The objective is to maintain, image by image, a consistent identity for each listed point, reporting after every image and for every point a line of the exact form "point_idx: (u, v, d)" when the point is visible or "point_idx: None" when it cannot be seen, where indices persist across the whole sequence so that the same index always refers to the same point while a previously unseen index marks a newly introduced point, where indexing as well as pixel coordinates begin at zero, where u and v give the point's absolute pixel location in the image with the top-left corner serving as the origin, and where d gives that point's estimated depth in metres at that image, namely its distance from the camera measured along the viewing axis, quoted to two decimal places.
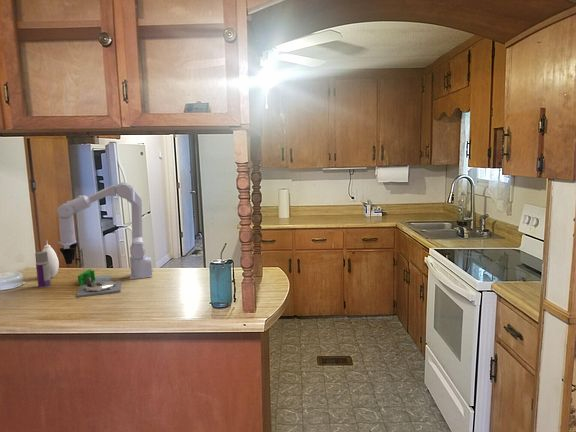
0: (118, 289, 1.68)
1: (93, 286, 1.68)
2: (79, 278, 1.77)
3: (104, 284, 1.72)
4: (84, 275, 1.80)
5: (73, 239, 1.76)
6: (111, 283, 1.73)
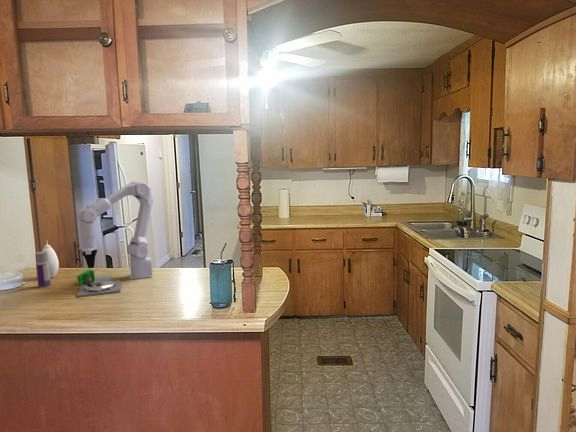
0: (118, 289, 1.68)
1: (93, 286, 1.68)
2: (79, 278, 1.77)
3: (104, 284, 1.72)
4: (84, 275, 1.80)
5: (94, 244, 1.72)
6: (111, 283, 1.73)
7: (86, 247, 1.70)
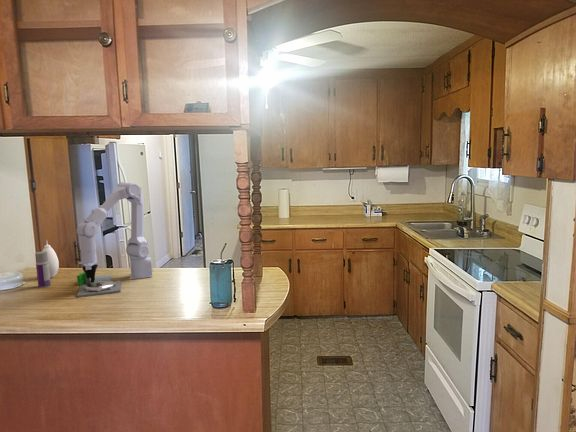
0: (118, 289, 1.68)
1: (93, 286, 1.68)
2: (78, 278, 1.77)
3: (104, 284, 1.72)
4: (83, 275, 1.80)
5: (94, 259, 1.69)
6: (111, 283, 1.73)
7: (86, 262, 1.67)
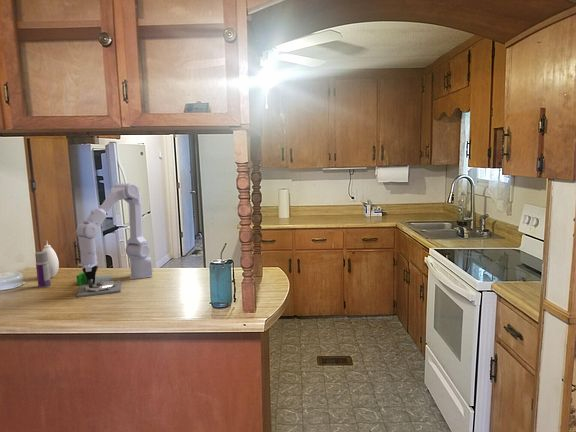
0: (118, 289, 1.68)
1: (98, 286, 1.68)
2: (78, 278, 1.77)
3: (103, 283, 1.73)
4: (83, 275, 1.80)
5: (95, 260, 1.67)
6: (109, 282, 1.75)
7: (86, 264, 1.65)
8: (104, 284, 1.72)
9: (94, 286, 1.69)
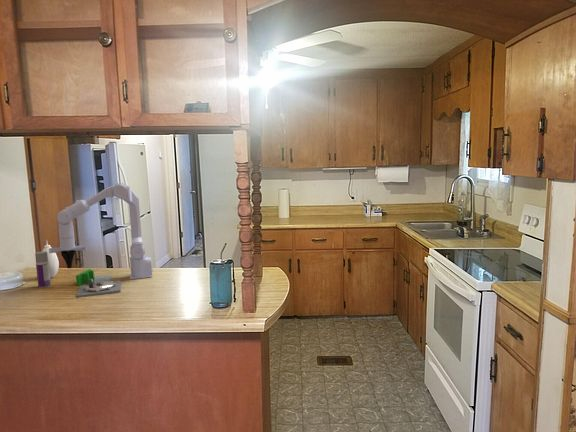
0: (118, 289, 1.68)
1: (98, 286, 1.68)
2: (77, 278, 1.77)
3: (103, 283, 1.73)
4: (82, 275, 1.80)
5: (62, 246, 1.75)
6: (108, 282, 1.75)
7: None
8: (104, 284, 1.72)
9: (94, 286, 1.69)
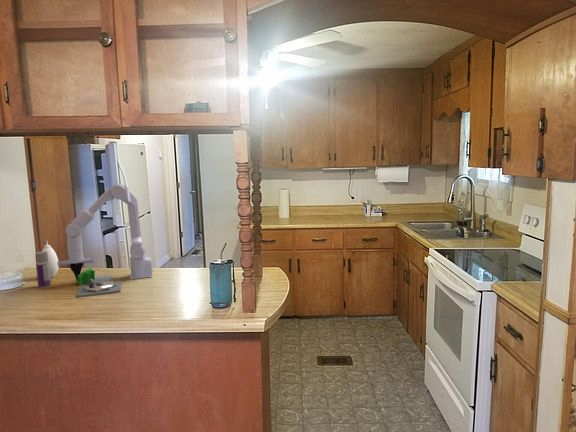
0: (118, 289, 1.68)
1: (98, 286, 1.68)
2: (79, 278, 1.77)
3: (103, 283, 1.73)
4: (84, 275, 1.80)
5: (71, 259, 1.77)
6: (108, 282, 1.75)
7: None
8: (104, 284, 1.72)
9: (94, 286, 1.69)
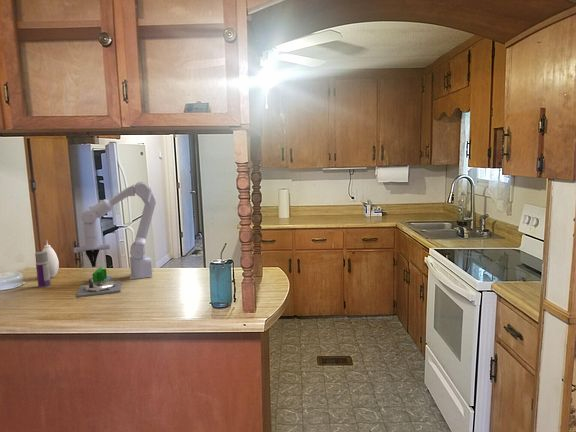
0: (118, 289, 1.68)
1: (98, 286, 1.68)
2: (94, 276, 1.79)
3: (103, 283, 1.73)
4: (98, 273, 1.82)
5: (87, 245, 1.79)
6: (108, 282, 1.75)
7: None
8: (104, 284, 1.72)
9: (94, 286, 1.69)
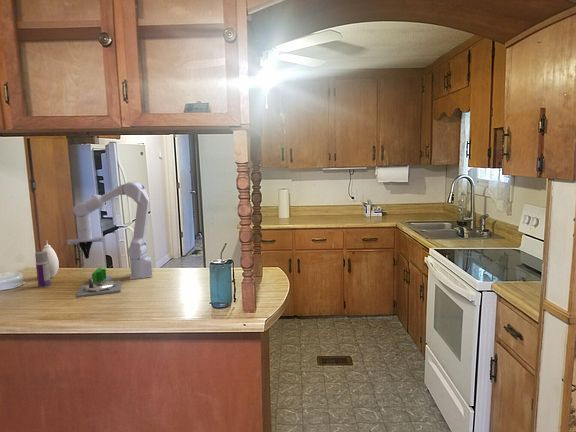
0: (118, 289, 1.68)
1: (98, 286, 1.68)
2: (93, 276, 1.79)
3: (103, 283, 1.73)
4: (97, 273, 1.82)
5: (80, 237, 1.84)
6: (108, 282, 1.75)
7: None
8: (104, 284, 1.72)
9: (94, 286, 1.69)
